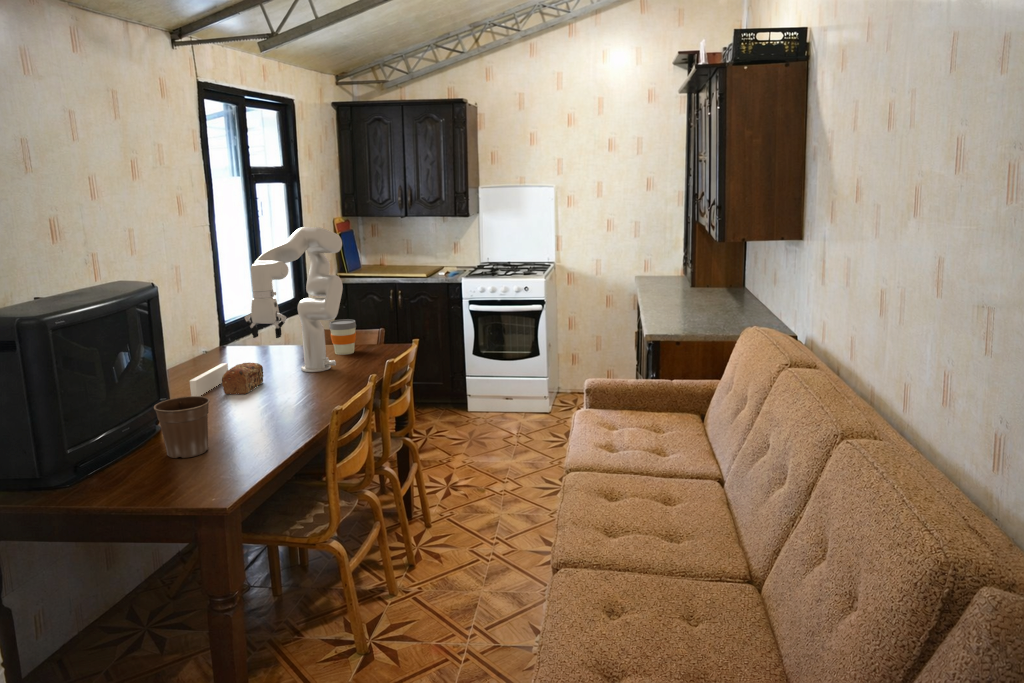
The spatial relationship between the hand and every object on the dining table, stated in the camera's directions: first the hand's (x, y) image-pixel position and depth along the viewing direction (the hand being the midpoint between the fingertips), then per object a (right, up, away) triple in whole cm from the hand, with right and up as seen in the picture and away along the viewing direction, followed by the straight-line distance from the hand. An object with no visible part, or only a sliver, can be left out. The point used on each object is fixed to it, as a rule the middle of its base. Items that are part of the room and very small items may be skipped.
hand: (267, 337), depth 323 cm
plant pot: (-5, -37, -68) cm, 77 cm away
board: (-25, -21, +7) cm, 33 cm away
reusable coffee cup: (+17, -7, +66) cm, 68 cm away
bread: (-11, -21, +6) cm, 24 cm away
